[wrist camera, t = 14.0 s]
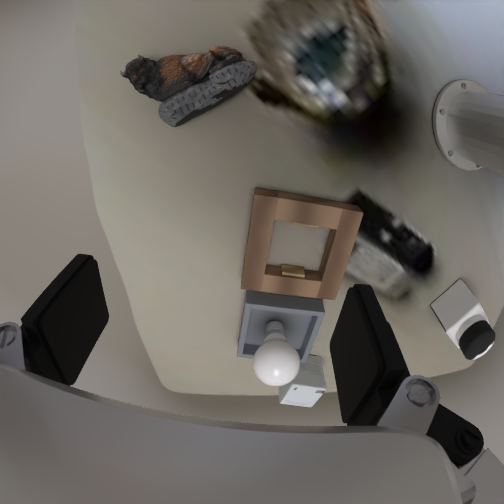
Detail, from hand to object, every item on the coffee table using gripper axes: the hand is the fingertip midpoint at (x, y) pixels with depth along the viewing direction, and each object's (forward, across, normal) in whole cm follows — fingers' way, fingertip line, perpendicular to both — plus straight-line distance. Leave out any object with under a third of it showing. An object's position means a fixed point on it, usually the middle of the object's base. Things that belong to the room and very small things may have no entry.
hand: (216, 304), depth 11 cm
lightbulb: (+26, -6, +24) cm, 36 cm away
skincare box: (+27, -12, +34) cm, 45 cm away
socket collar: (+27, -7, +11) cm, 29 cm away
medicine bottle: (+27, -37, +18) cm, 49 cm away
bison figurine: (+27, +7, -10) cm, 29 cm away
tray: (+26, -6, +25) cm, 37 cm away
